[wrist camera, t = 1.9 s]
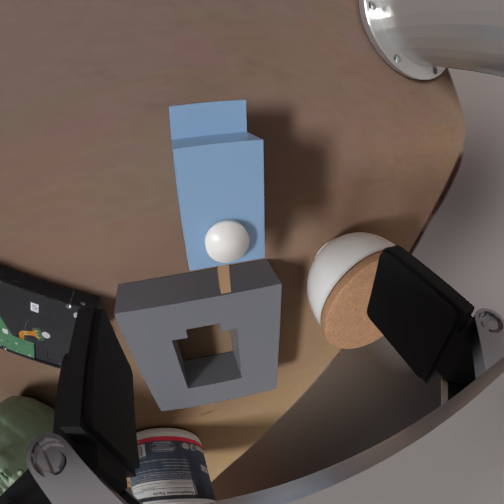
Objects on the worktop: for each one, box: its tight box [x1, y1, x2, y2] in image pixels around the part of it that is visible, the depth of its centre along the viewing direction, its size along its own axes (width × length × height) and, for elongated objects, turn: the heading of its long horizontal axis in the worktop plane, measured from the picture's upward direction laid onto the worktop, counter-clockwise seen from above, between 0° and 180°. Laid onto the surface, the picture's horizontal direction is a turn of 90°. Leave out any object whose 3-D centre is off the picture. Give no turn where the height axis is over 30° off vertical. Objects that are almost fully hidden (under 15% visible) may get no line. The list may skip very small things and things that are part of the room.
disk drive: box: [0, 265, 101, 369], centre depth 23 cm, size 10×3×15 cm
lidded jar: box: [307, 232, 396, 349], centre depth 27 cm, size 11×11×9 cm
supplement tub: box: [130, 428, 216, 504], centre depth 34 cm, size 13×13×18 cm
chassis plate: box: [114, 259, 282, 411], centre depth 29 cm, size 14×16×4 cm
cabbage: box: [0, 396, 55, 496], centre depth 22 cm, size 16×19×20 cm
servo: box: [169, 100, 265, 294], centre depth 19 cm, size 13×4×9 cm, turn 1°
